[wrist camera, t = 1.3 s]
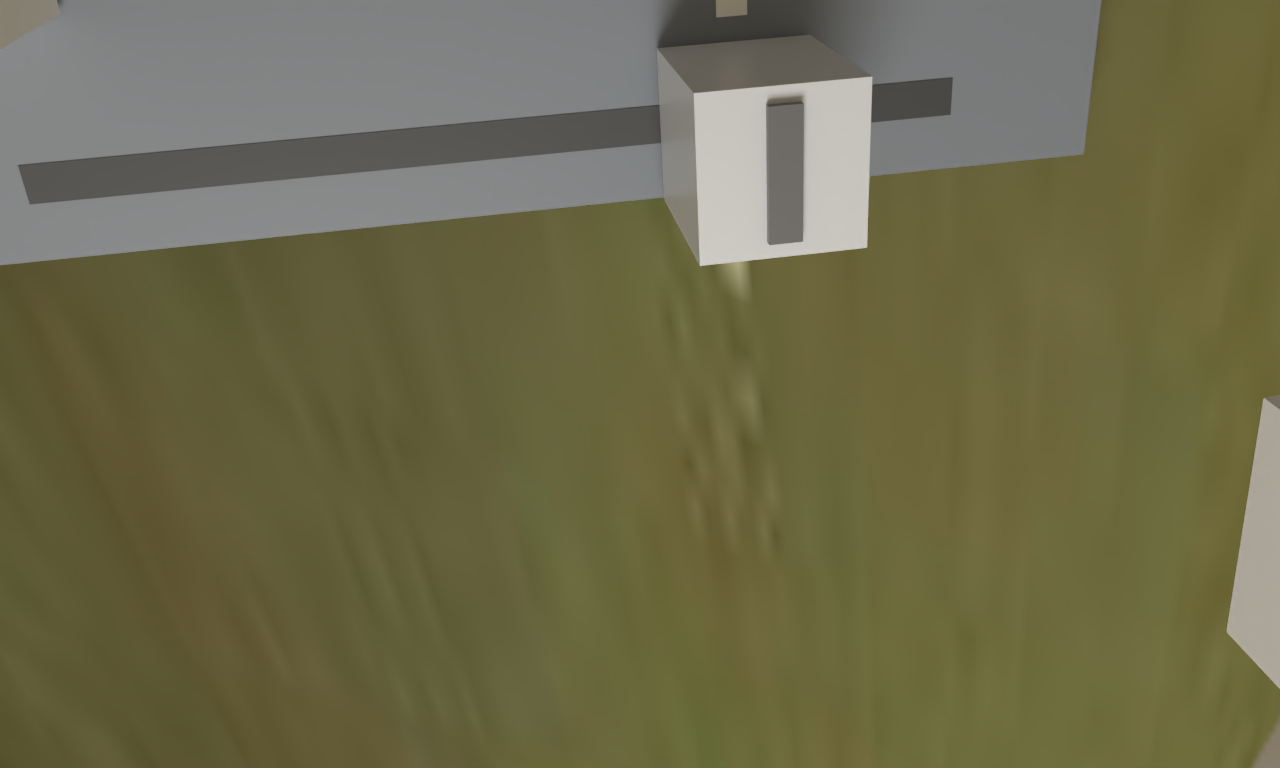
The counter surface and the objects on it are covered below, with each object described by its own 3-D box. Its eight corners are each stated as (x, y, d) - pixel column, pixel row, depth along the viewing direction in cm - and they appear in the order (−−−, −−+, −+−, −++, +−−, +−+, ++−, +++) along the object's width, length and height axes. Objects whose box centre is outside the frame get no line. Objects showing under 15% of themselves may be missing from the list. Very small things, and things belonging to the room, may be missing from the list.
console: (-234, -161, 27) (-282, -157, 25) (1090, -246, 31) (1130, -248, 29) (-87, 250, 32) (-119, 277, 30) (1051, 135, 35) (1083, 154, 33)
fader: (656, 48, 30) (695, 95, 26) (810, 34, 31) (875, 78, 26) (664, 199, 32) (701, 268, 27) (808, 185, 32) (869, 250, 28)
